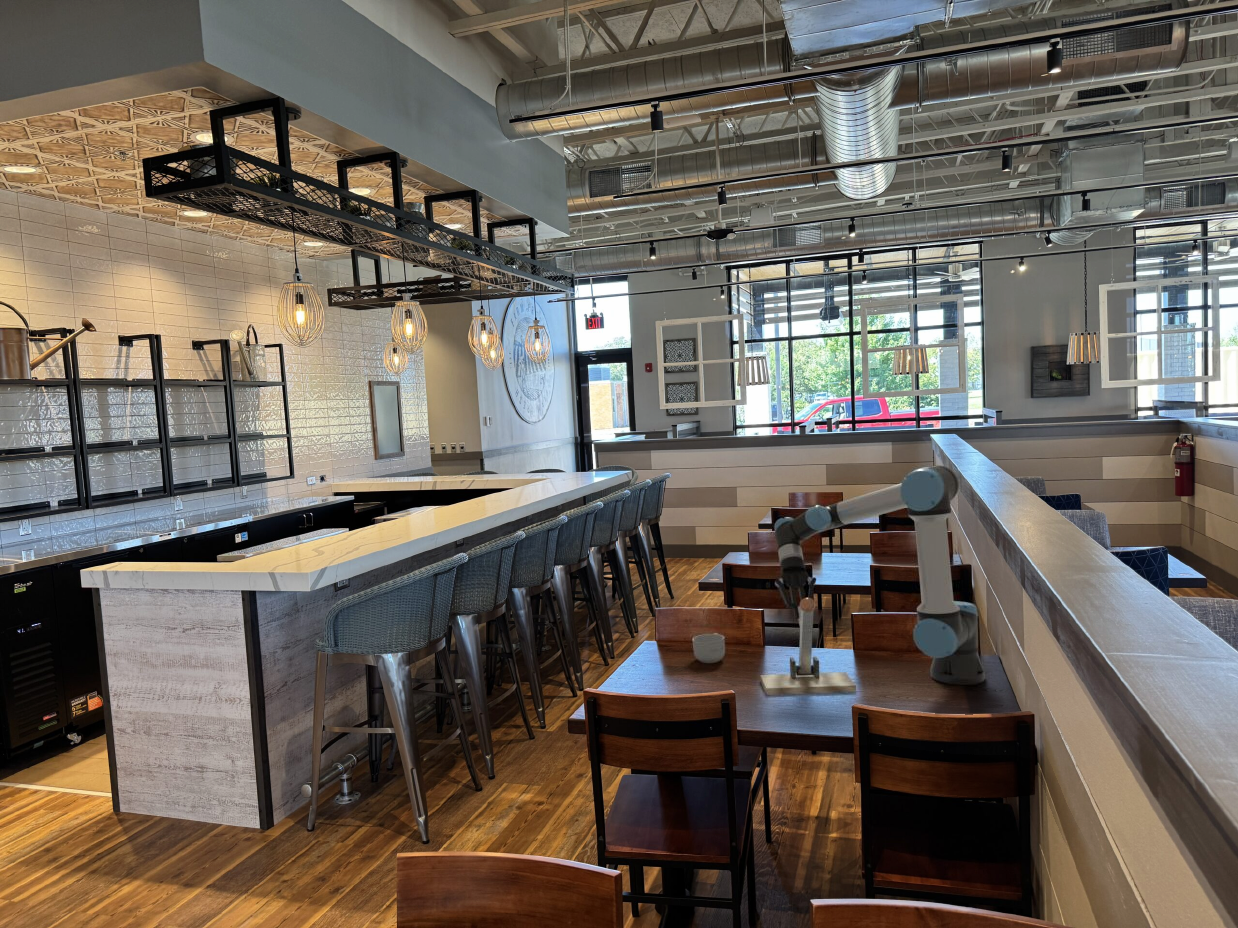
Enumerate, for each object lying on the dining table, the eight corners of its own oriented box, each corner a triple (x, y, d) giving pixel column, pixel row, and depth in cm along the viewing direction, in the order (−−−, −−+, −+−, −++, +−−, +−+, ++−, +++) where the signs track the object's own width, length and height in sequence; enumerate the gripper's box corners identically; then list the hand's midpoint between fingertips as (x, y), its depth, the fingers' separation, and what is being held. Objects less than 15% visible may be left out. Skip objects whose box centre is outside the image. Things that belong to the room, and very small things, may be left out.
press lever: (811, 669, 248) (814, 594, 238) (814, 678, 244) (817, 602, 234) (794, 670, 248) (797, 594, 238) (797, 679, 244) (800, 602, 234)
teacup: (714, 667, 264) (714, 643, 264) (686, 662, 271) (685, 638, 271) (735, 656, 275) (735, 633, 275) (708, 651, 282) (707, 629, 282)
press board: (845, 678, 248) (845, 654, 248) (856, 691, 236) (855, 666, 236) (760, 681, 249) (759, 657, 248) (766, 694, 237) (765, 669, 236)
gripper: (811, 567, 260) (824, 632, 245) (769, 569, 261) (780, 634, 245) (814, 554, 255) (827, 620, 239) (771, 555, 255) (782, 622, 240)
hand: (803, 627), depth 242 cm, fingers closed
